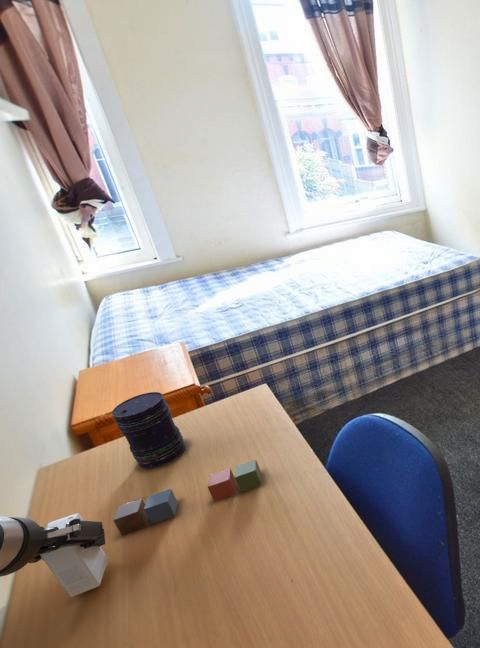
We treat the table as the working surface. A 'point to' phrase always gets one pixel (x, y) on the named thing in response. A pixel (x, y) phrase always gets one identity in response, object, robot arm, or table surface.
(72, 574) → the cosmetic box
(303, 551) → the table surface
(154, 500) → the block
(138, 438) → the storage jar
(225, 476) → the block
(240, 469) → the block
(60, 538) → the robot arm
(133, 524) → the block
